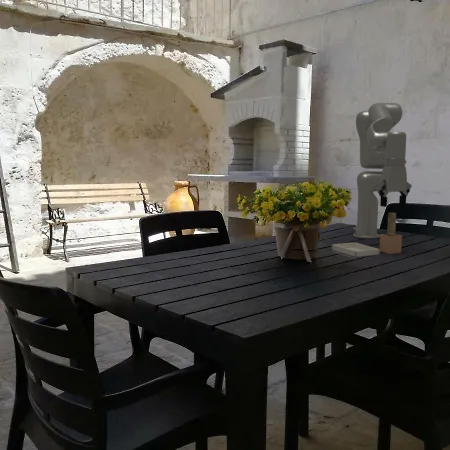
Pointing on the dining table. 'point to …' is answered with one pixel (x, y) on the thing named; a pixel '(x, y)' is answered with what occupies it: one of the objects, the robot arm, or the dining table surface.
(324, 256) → the dining table surface
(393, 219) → the beech dowel
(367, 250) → the plastic tray
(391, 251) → the terracotta cup
